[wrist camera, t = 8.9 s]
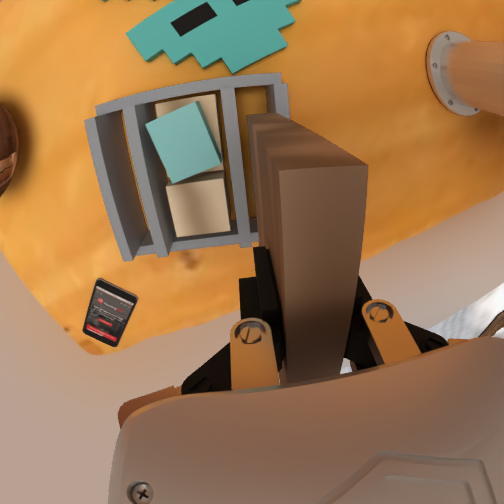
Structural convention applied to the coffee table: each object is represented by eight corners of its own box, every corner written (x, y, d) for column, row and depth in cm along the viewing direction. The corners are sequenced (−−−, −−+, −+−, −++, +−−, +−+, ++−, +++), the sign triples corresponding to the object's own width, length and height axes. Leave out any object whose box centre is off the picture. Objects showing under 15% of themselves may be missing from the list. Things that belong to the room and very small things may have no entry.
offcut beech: (224, 165, 33) (223, 178, 29) (230, 212, 36) (230, 230, 32) (174, 172, 33) (165, 186, 29) (183, 218, 36) (177, 237, 32)
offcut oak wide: (217, 93, 28) (214, 94, 25) (224, 160, 33) (223, 169, 29) (164, 102, 28) (155, 104, 25) (174, 167, 33) (167, 177, 29)
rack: (275, 74, 27) (286, 70, 21) (285, 222, 37) (295, 251, 31) (109, 103, 27) (82, 108, 21) (141, 239, 37) (126, 270, 31)
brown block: (276, 112, 18) (367, 165, 6) (285, 263, 24) (327, 420, 12) (246, 115, 18) (278, 170, 6) (261, 266, 24) (286, 427, 12)
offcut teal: (198, 100, 25) (195, 101, 23) (222, 157, 29) (221, 164, 26) (153, 120, 26) (145, 124, 23) (177, 174, 29) (172, 183, 27)
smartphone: (81, 332, 46) (96, 277, 39) (83, 329, 46) (98, 275, 40) (116, 348, 48) (138, 298, 42) (117, 345, 49) (139, 295, 42)
